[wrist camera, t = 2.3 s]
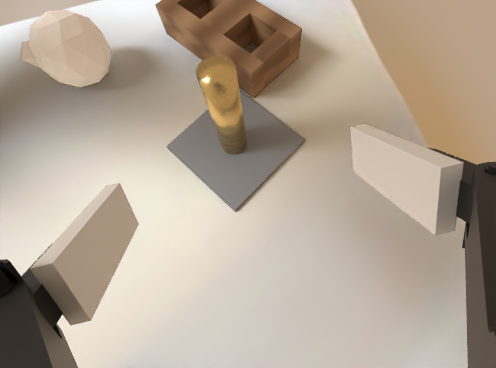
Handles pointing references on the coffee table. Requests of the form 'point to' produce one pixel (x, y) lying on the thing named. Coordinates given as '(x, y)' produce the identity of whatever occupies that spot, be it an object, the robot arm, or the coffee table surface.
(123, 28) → the coffee table surface
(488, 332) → the robot arm
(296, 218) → the coffee table surface
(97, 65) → the beige faceted ovoid
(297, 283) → the coffee table surface
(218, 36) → the walnut hole block
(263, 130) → the slate rubber mat
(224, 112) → the brass peg
